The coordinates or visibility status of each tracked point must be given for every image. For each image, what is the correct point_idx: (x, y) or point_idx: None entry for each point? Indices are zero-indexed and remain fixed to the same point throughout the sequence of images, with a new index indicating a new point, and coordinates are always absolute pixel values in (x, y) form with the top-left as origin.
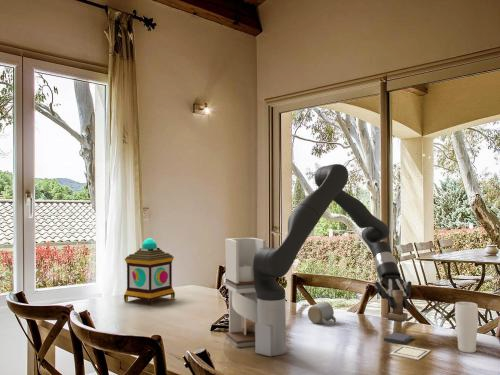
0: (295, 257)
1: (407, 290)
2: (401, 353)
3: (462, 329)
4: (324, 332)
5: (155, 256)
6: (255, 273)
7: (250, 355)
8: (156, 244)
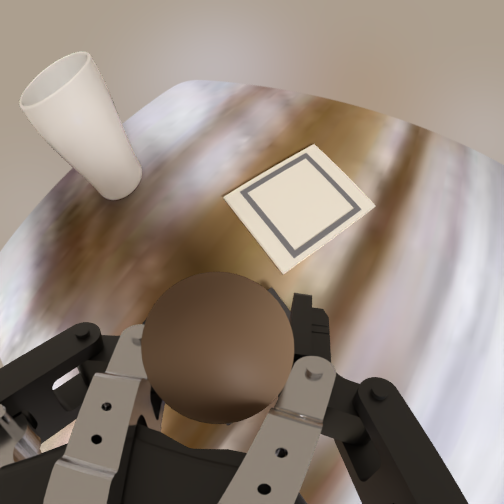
0: None
1: (67, 359)
2: (338, 194)
3: (120, 120)
4: (463, 486)
5: None
6: None
7: None
8: None
